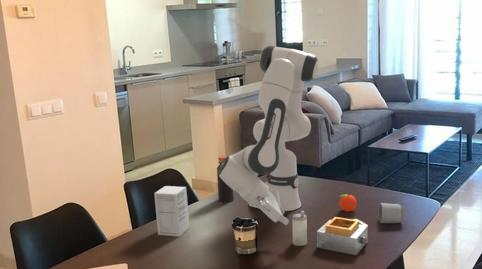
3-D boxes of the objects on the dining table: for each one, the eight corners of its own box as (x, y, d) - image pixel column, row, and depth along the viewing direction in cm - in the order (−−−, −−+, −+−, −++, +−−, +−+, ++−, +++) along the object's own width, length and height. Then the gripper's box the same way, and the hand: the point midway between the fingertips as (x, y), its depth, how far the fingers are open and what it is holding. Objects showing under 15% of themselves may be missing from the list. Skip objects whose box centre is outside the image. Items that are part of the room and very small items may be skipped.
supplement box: (190, 228, 206) (187, 186, 202) (180, 237, 197) (176, 194, 194) (168, 225, 209) (165, 185, 205) (157, 235, 200) (153, 192, 197)
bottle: (236, 198, 237) (234, 155, 233) (228, 203, 231) (226, 159, 227) (224, 196, 241) (221, 154, 236) (215, 201, 235) (213, 157, 231)
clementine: (335, 212, 215) (335, 196, 213) (338, 207, 221) (338, 191, 219) (355, 214, 212) (355, 197, 210) (358, 208, 218) (358, 192, 217)
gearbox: (317, 247, 183) (316, 225, 181) (330, 235, 193) (329, 214, 191) (359, 255, 175) (359, 233, 174) (370, 242, 185) (371, 220, 184)
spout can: (290, 244, 187) (289, 212, 184) (296, 239, 191) (295, 207, 188) (303, 247, 184) (302, 214, 182) (309, 241, 188) (308, 209, 186)
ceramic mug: (403, 226, 199) (404, 206, 197) (381, 226, 199) (381, 206, 198) (397, 216, 209) (397, 197, 207) (376, 216, 210) (376, 197, 208)
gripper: (266, 196, 172) (296, 222, 175) (259, 178, 192) (287, 202, 195) (253, 210, 173) (283, 236, 175) (248, 190, 193) (275, 214, 195)
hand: (285, 218), depth 185 cm, fingers open, 8 cm apart
